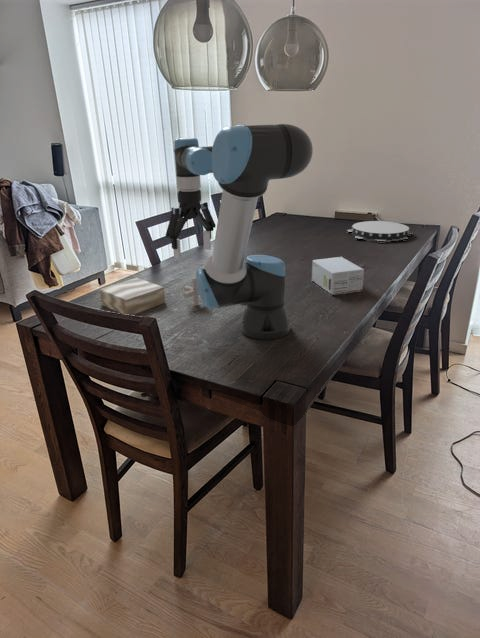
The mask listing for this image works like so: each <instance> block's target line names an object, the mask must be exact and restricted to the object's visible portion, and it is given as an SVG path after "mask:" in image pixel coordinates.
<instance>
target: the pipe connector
mask: <svg viewBox="0 0 480 638" xmlns="http://www.w3.org/2000/svg"><path fill="white" fill-rule="evenodd" d="M191 280H192V281H191V282H192V284H191V285H192V286H189V285H188V286H187V285H185V286H184V287H183V291H185V292H184V293H183V297H184V298H185V299H188V298H190V297H193V306H195V307H196V306H199V305H200V303H199V302H200V300H199V298H200V297H199V296H200V294H199V291H198V287H197V282H196V276H195V277H193V276H192V277H191Z"/></svg>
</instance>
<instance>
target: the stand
mask: <svg viewBox="0 0 480 638" xmlns="http://www.w3.org/2000/svg"><path fill="white" fill-rule="evenodd" d="M99 293H100V301H101V305H102V306H103V307H106V308H108V309H110V310H113V311H115V312H116V313H120V314H121V315H124V314H129V315H131V316H133V315H136V314H138V313H141V312H144V311H146V310H149V309H152V308H155V307H158V306H160V305H163V304H165V303H166V297H165V287H164V286H162V285H159V284H155V283H153V282H150V281H147V280H144V279H142V278H139V277H135V278H131V279H128V280H125V281H121V282H119V283H115V284H112V285H109V286H105V287H102V288H100V289H99Z"/></svg>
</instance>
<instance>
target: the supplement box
mask: <svg viewBox="0 0 480 638" xmlns="http://www.w3.org/2000/svg"><path fill="white" fill-rule="evenodd" d="M364 274H365V269H364V268H362V267H361V266H359V265H357V264H355V263H353V262H351V261H350V260H348V259H346V258H344V257H343V256H336V257H328V258H320V259H312V264H311V282H312V281H314V282H315V283H316V284H318V285H319V286H321V287H322V288H323V289H325V290H326V291H328V292H329V293H331V294H335V293H341V292H347V291H353V290H360V289H362V290H363V285H364V284H363V282H364V277H365V275H364Z"/></svg>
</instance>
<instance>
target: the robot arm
mask: <svg viewBox="0 0 480 638" xmlns="http://www.w3.org/2000/svg"><path fill="white" fill-rule="evenodd" d="M173 145H174V148H173V152H174V162H175V163H174V164H175V175H176V177H175V178H176V188H177V201H178V203H179V205H178V206H179V207H174V206H173V207H171V214H170V218H169V221H168V226H167V229H166V232H165V238H166V239H169V240H171V248H172V249H173V258H175V259H179V260H180V259H182V254H181V253H182V251H181V250H182V249H181V239H180V238H179V236H180V234H181V232H182V230H183V228H184V226H185V224H186V223H187V222H188V220H192V219H196V220H197V221H198V222H199V224H200V225H201V226H202V227H203V228H204V230H203V231H202V232H203V233H202V237H203V239H202V240H203V249H204V250H206V251H207V250H208V251H210V250H212V244H211V242H212V241H211V240H212V232H214V229H216V230H215V237H214V243H213V250H212V255H211V256H210V257H208V258H207V260H206V261H205V263H204V264H205V266H204V268H200V269H198V270H196V272H195V277H196V282H197V287H198V291H199V294H200V295H199V296H200V297H199V298H200V300H201V302H202V304H203V306H204V307H205V308H207V309H209V310H211V309H221V308H226V307H231V306H236V305H237V306H238V305H241V304H242V305H243V304H246V307H245V309H244V310H245V311H244V314H243V317H242V320H241V325H240V327H241V329H240V330H241V332H242V333H243V335H245V336H246V337H248V338H252V339H256V340H262V341H263V340H264V341H265V340H268V341H269V340H275V339H280V338H283V337H285V336H287V335H288V334H289V333H290V331H291V330H290V329H291V328H290V327H291V323H290V322H291V321H290V320H289V318H288V313H287V310H286V306H285V303H286V301H285V300H286V299H285V297H286V277H287V274H286V264H285V262H284V260H282V259H280V258H278V257H275V256H271V255H268V254H267V255H266V254H250V255H248V256H246V252H247V247H248V244H249V238H250V236H251V235H250V234H251V229H252V225H253V222H254V217H255V212H256V208H257V205H258V204H257V203H258V199H259V198H260V197H262V196H263V195H265V194H266V192H267V189H268V185H269V181H271V180H281V179H287V178H292V177H294V176H298V175H299V174H301V173H303V172H304V171H305V170H306V169H307V167H308V166H309V164H310V163H311V160H312V158H313V151H314V149H313V143H312V141H311V138H310V136H309V135H308V134H307V133H306V132H305V131H304V130H303V128H300V127H299V126H296V125H293V124H288V123H287V124H286V123H278V124H259V125H246V124H237V125H234V126H232V125H231V126H226V127H224V128H222V129H220V131H219V132H218V133H217V134H216V136H215V139H214V141H213V144H212V146H208V145H207V146H200V145H199V140H198V139H197V138H196V137H180V138H175V139H174V140H173ZM208 174H212V175H213V177H214V179H215V180H216V182H217V183H218V186H219V187H220V189H221V190H222V191H221V192H222V193H221V200H220V206H219V212H218V218H217V225H216V223H215V221H214V218H213V216H212V214H211V211H210V209H209V203H208V202H207V201H202V191H201V189H200V188H201V185H202V184H201V176H207V175H208ZM245 256H246V257H245ZM244 261H245V262H244Z"/></svg>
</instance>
